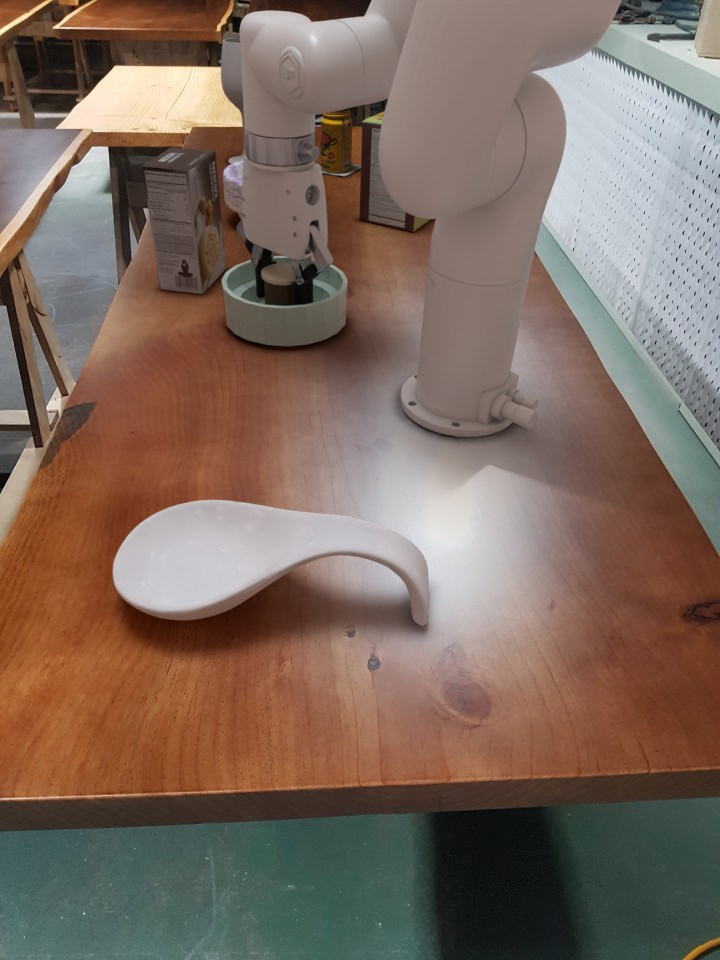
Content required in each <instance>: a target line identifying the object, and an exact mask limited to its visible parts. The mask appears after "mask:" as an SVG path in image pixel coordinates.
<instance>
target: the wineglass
mask: <svg viewBox="0 0 720 960" xmlns="http://www.w3.org/2000/svg"><path fill="white" fill-rule="evenodd" d="M220 57H221V59H220V80H221V81H220V82H221V87H222V91H223V93H224V96H225V97H226V98H227V99H228V101H229V102H230V103H231V104H232V105H233V106H234V107H235V108H237V109H238V110H239V112H240V115H241V122H242V123H241V125H242V126H241V127H242V138H243V151H242V153H241V155H236V156H232V157H230V158H229V159H228V164H229V165H231V164H233V163H236V162H240V161H244V158H245V156H246V142H245V125H244V107H243V89H242V71H241V52H240V37H229V38H224V39H222V45H221V55H220Z"/></svg>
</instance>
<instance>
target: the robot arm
mask: <svg viewBox="0 0 720 960" xmlns="http://www.w3.org/2000/svg"><path fill="white" fill-rule="evenodd" d="M622 1H623V0H371V1H370V3H369V5H368V8H367V10H366V12H365V14H364V15H363V16H354V17H353V16H352V17H345V18H344V17H343V18H337V19H328V20H327V19H326V20H319V21H318V20H317V21H312V20H311V19H310V18H309V17H308V16H306V15H304V14H302V13H298V12H293V11H284V10H259V11H252V12H250V13H247V14H246V15H245V16H244V17H243V18H242V19H241V22H240V26H239V38H240V52H241V71H242V89H243V107H244V125H245V142H246V156H245V158H244V166H243V176H242V219H240V221H239V222H238V223H237V224H236V232H237V233H238V235H239V236H240V238H241V239H242V241H243V242H244V246H245V248H246V250H247V252H248V253H249V255H250V260H251V263H252V265H253V266H256V267H255V277H256V295H257V297H258V298H264V297H265V292H264V280H263V279H262V277H261V271H262V269H263V268H265V267H266V266H269V265H272V264H277V261H274V260H273V261H272V259H273V257H274V256H275V253H276V254H278V255H279V256H285V257H288V258H290V262H291V266H292V270H293V275H294V279H295V282H293V283H291V306H292V305H305V304H309V303H313V279H315V278H317V276H318V275H319V274H320V273H321V272H322V271H323V270H324V269H325V268H327V267H328V266H330V265H333V264H334V257H333V255H332V253H331V251H330V249H329V247H328V240H329V239H328V237H329V234H328V232H329V231H328V230H329V229H328V210H327V209H328V207H327V198H326V197H327V196H326V190H325V189H326V188H325V182H324V177H323V176H324V175H323V173H322V171H321V164H319V163H316V160H317V159H318V158H319V157H320V154H321V150H320V148H319V146H317V145H316V115H323V114H325V113H329V112H334V111H340V110H344V109H347V108H350V109H351V108H355V107H361V106H366V105H370V104H375V103H380V102H383V101H385V100H387V101H386V105H385V109H384V111H385V112H384V116H383V120H382V125H381V130H380V138H379V166H380V172H381V176H382V179H383V182H384V185H385V187H386V190H387V192H388V194H389V195H390V197H391V198H392V200H393V201H394V202H395V203H396V204H397V205H398V206H399V207H400V208H401V209H402V210H404V211H405V212H407V213H409V214H411V215H413V216H416V217H419V218H424V219H430V220H435V221H434V224H433V229H432V234H431V238H430V246H429V253H428V254H429V256H428V263H427V273H426V283H425V292H424V302H423V312H422V322H421V330H420V331H421V333H420V341H419V351H418V361H417V362H418V363H417V372H416V373H413V374H412V375H411V376H409V377H408V378H407V379H406V380H404V382H403V384H402V386H401V389H400V394H399V395H400V396H399V400H400V406H401V408H402V410H403V412H404V413H405V414H406V415H407V417H408V418H410V419H411V420H412V421H413V422H414V423H416V424H417V425H419V426H421V427H422V428H425V429H427V430H429V431H431V432H434V433H438V434H442V435H445V436H452V437H458V438H477V437H485V436H491V435H493V434H496V433H499V432H502V431H503V430H505V429H506V428H508V427H509V426H511V424H512V423H514V424H516V425H518V426H520V427H522V428H524V429H526V430H529V431H530V430H532V429H533V428H534V426H535V424H536V422H537V421H538V418H539V412H538V411H537V408H538V405H539V399H537V398H535V397H533V396H530V395H528V394H524V393H521V392H520V389H519V388H517V387H518V383H519V378H520V374H518V373H515V372H513V371H511V370H512V366H513V359H514V355H515V350H516V344H517V340H518V336H519V329H520V325H521V319H522V313H523V311H524V304H525V299H526V294H527V288H528V284H529V278H530V273H531V270H532V265H533V260H534V255H535V252H536V251H535V250H536V246H537V242H538V241H537V240H538V237H539V232H540V229H541V224H542V220H543V218H544V213H545V211H546V207H547V204H548V200H549V199H550V196H551V194H552V190H553V187H554V184H555V181H556V179H557V177H558V173H559V171H560V167H561V163H562V160H563V157H564V153H565V147H566V142H567V118H566V111H565V107H564V105H563V102H562V99H561V98H560V95H559V94H558V92H557V91H556V89H555V88H554V87H553V85H552V84H551V83H549V81H548V80H546V79H545V78H544V77H542V76H541V75H539V74H537V73H535V72H538V71H544V70H548V69H552V68H556V67H559V66H563V65H566V64H568V63H571V62H574V61H577V60H579V59H581V58H582V57H584V56H585V55H587V54H588V53H589V52H591V51H592V50H593V49H594V48H595V47H596V46H597V45H598V44H599V42H600V41H601V40H602V38H603V37H604V35H605V34H606V32H607V31H608V29H609V27H611V24H612V23H613V20H614V18H615V16H616V15H617V11H618V10H619V8H620V6H621V4H622ZM314 259H315V260H314ZM302 260H304V261H305V265H306V268H305V269H304V270H303V269H302V265H301V261H302Z"/></svg>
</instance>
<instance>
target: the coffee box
mask: <svg viewBox="0 0 720 960" xmlns="http://www.w3.org/2000/svg"><path fill="white" fill-rule="evenodd" d="M141 172H142V177H143V178H142V179H143V185H144V191H145V198H146V204H147V210H148V211H147V212H148V216H149V223H150V230H151V237H152V243H153V249H154V255H155V262H156V269H157V274H158V282H159V288H160V290H163V291H171V292H180V293H188V294H189V293H190V294H196V295H203V294H205V293H206V292H207V291H208V289H209V288H211V286H213V284H214V283H215V282H216V280H217V279H218V278H219V277H220V276H221V275H222V274H223V273H224V272H225V270H227V263H226V252H225V241H224V231H223V230H224V229H223V218H222V208H221V207H222V206H221V197H220V186H219V176H218V175H219V174H218V164H217V151H216V150H209V149H206V150H205V149H195V148H182V147H169V148H167V149H166V150H165V151H163V152H161V153H160V154H159V155H157V156H154V157H153V158H152V159H150V160H149V161H147V162H145V163H144V164H142V165H141Z"/></svg>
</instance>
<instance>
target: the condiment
mask: <svg viewBox="0 0 720 960" xmlns="http://www.w3.org/2000/svg"><path fill="white" fill-rule="evenodd" d="M351 116H352V114H351V108H347V109H344V110H340V111H334V112H329V113H325V114H322V117H321V119H320V167H321V171H322V174H328V175H333V176H342V177H347V176H349V175H351V174H352V173H355V172H356V171H357V170H361V164H355V163H352V153H353V151H352V150H353V149H352V146H353V120H352V117H351Z"/></svg>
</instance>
